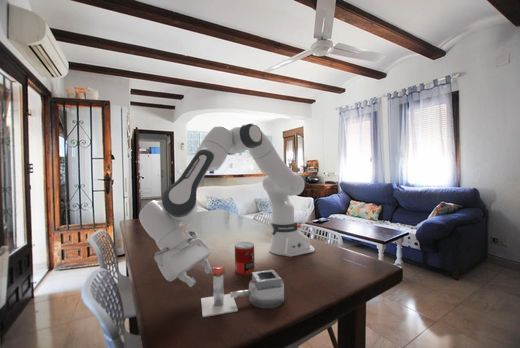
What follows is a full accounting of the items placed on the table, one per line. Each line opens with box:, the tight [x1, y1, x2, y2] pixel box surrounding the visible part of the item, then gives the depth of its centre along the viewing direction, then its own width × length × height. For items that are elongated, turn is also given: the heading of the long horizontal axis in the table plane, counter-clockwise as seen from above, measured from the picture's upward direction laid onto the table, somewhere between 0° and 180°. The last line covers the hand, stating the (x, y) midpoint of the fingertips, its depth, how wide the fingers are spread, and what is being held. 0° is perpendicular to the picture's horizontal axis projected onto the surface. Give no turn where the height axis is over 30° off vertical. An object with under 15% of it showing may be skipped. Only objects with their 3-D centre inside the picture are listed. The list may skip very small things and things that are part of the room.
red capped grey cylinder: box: [211, 265, 226, 306], centre depth 76 cm, size 4×4×11 cm
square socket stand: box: [229, 269, 285, 310], centre depth 78 cm, size 17×11×8 cm, turn 106°
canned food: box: [234, 241, 255, 276], centre depth 101 cm, size 8×8×11 cm
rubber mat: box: [200, 293, 239, 318], centre depth 76 cm, size 10×10×1 cm
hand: (202, 278), depth 77 cm, fingers open, 8 cm apart
